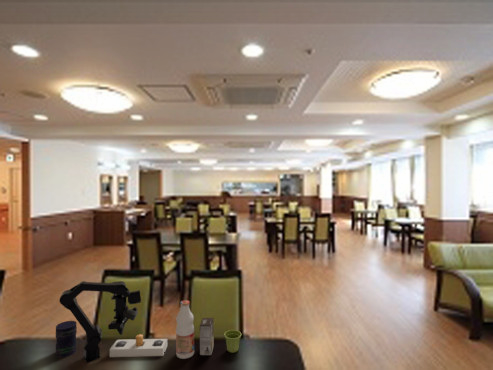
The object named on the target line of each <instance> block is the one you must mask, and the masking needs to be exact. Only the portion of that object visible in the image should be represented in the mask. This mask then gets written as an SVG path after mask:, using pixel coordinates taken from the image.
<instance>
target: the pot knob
mask: <svg viewBox="0 0 493 370" xmlns="http://www.w3.org/2000/svg"><path fill="white" fill-rule="evenodd" d="M135 339H136V346H142V345H143V339H144V335H143V334H137V335H135Z"/></svg>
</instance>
